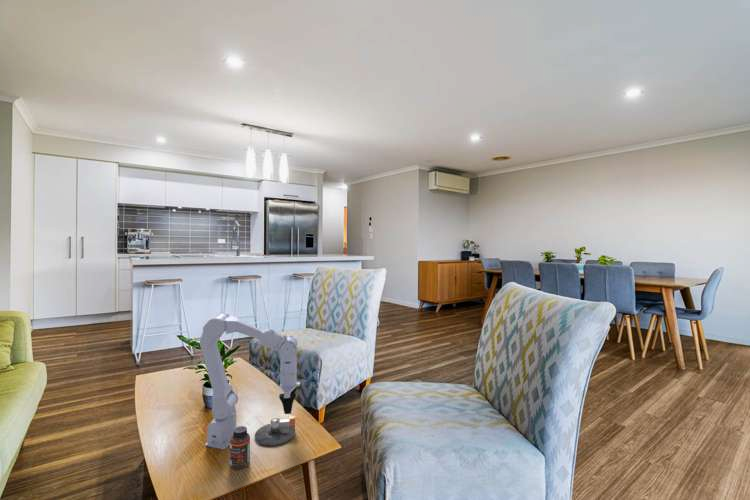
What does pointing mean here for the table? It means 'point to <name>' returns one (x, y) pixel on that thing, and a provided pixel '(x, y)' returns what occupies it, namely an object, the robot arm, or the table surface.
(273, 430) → the crank
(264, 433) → the plate
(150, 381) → the table surface
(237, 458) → the supplement bottle
